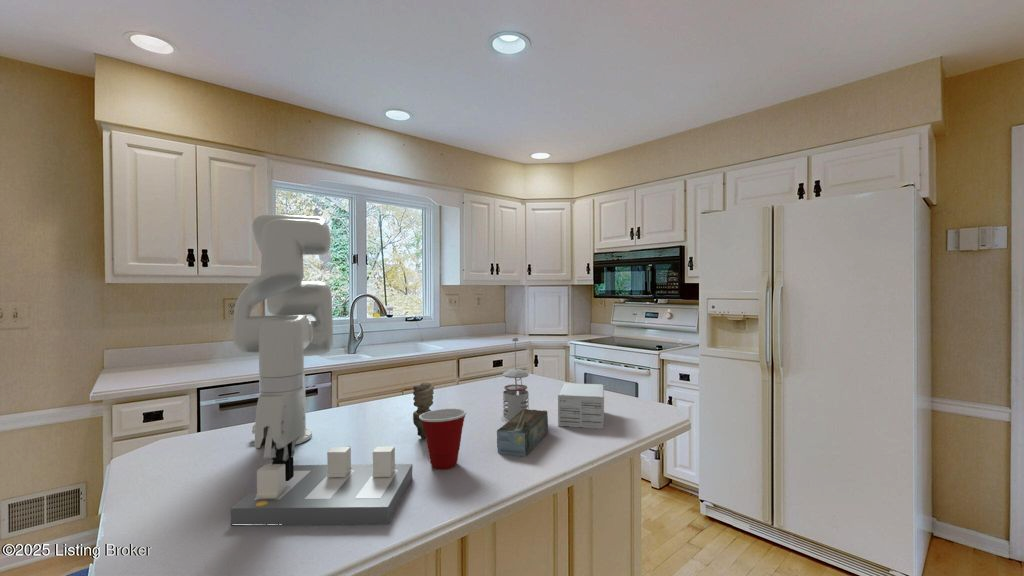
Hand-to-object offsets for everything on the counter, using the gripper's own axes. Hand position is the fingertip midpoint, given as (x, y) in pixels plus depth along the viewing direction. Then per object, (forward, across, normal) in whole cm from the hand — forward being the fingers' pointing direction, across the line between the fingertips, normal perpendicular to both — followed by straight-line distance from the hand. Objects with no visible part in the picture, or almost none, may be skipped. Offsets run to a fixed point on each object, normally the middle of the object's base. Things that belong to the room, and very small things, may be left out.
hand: (283, 479), depth 83 cm
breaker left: (+1, +4, 0) cm, 4 cm away
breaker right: (+1, -4, +18) cm, 19 cm away
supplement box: (+5, -49, +65) cm, 82 cm away
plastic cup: (+4, -16, +28) cm, 33 cm away
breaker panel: (+4, 0, +9) cm, 10 cm away
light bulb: (+4, -33, +20) cm, 39 cm away
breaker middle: (+1, -5, +9) cm, 10 cm away
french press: (+5, -51, +45) cm, 69 cm away
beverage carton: (+5, -30, +47) cm, 56 cm away
